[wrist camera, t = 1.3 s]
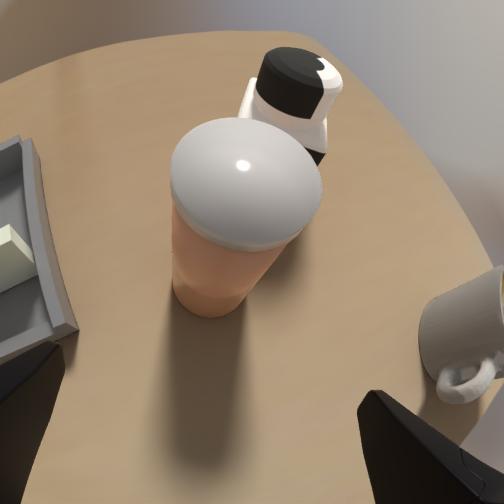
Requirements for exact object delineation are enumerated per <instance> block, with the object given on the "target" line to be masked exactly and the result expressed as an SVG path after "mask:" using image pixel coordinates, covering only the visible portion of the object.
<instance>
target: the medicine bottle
mask: <svg viewBox="0 0 504 504" xmlns="http://www.w3.org/2000/svg"><path fill="white" fill-rule="evenodd" d="M342 88H343V82H342V78H341V76H340V74H339V72H338V71H337V70H336V69H335V68H334V67H333V66H332V65H331V64H330V63H329V62H327V61H326V60H325V59H323V58H322V57H320V56H318V55H316V54H314V53H312V52H309V51H306V50H303V49H299V48H291V47H279V48H275V49H273V50H271V51H269V52H267V53H266V54H265V56H264V59H263V62H262V65H261V68H260V71H259V74H258V77H257V78H251V79H250V81H249V84H248V86H247V89H246V92H245V95H244V98H243V101H242V104H241V107H240V110H239V113H238V117H237V118H248V119H253V120H258V121H261V122H265V123H267V124H270V125H272V126H275V127H277V128H279V129H281V130H282V131H284V132H286V133H287V134H289V135H290V136H292V137H293V138H294V139H295V140H297V141H298V142H299V143H300V144H301V145H302V146H303V147H304V148H305V149H306V150H307V152H308V153H309V154H310V156H311V157H312V159H313V160H314V162H315V164H316V166H318V165H319V163H320V162H321V160H322V159H323V157H324V155H325V154H326V152H327V114H328V112H329V111H330V109H331V107H332V105H333V104H334V102H335V100H336V98H337V97H338V95H339V93H340V91H341V90H342Z"/></svg>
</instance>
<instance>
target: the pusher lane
mask: <svg viewBox="0 0 504 504" xmlns="http://www.w3.org/2000/svg"><path fill="white" fill-rule="evenodd" d="M8 224H10V225H11V227H12V228H13V229H14V230H15V231H16V233H17V234H18V235H19V236H20V237H21V238H22V240H23V241H24V242H25V243H26V244H27V245H28V246H29V248H30V249H31V250H32V251H33V252H34V257H35V262H36V266H37V271H38V275H37V276H34V277H32V278H30V279H28V280H26V281H24V282H22V283H20V284H18V285H15V286H13V287H11V288H9V289H7V290H5V291H3V292H1V293H0V364H2V363H5V362H7V361H9V360H10V359H12V358H14V357H16V356H18V355H20V354H22V353H24V352H26V351H28V350H30V349H32V348H33V347H35V346H37V345H39V344H41V343H43V342H45V341H47V340H50V341H53V342H54V341H56V340H58V339H61V338H63V337H65V336H68V335H70V334H72V333H74V332H77V331H79V328H78V325H77V322H76V319H75V316H74V313H73V310H72V307H71V304H70V301H69V298H68V295H67V292H66V288H65V285H64V282H63V278H62V275H61V271H60V267H59V263H58V260H57V256H56V252H55V247H54V243H53V239H52V234H51V229H50V224H49V219H48V214H47V208H46V202H45V196H44V189H43V182H42V174H41V165H40V158H39V155H38V153H37V151H36V148H35V146H34V143H33V141H32V138H30V139H28V140H25V141H23V142H22V141H21V138H20V136H19V135H17V136H15V137H13V138H11V139H9V140H7V141H5V142H3V143H1V144H0V228H2V227H4V226H6V225H8Z"/></svg>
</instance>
